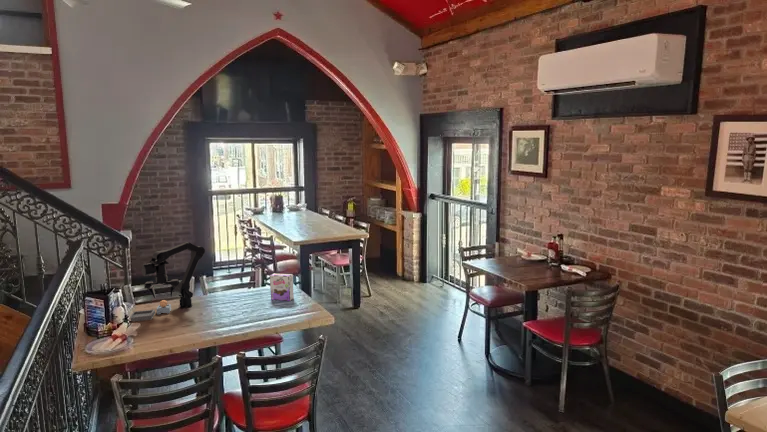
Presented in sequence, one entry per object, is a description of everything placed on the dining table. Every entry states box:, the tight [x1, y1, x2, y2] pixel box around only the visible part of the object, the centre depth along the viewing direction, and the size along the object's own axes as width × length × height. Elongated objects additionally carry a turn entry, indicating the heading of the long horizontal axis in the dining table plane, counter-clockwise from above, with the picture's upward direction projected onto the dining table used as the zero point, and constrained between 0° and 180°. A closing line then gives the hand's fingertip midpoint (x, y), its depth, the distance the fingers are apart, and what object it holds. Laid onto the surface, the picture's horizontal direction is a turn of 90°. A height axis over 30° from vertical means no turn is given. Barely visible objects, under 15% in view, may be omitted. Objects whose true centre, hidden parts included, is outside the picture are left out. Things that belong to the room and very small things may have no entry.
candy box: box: [269, 272, 295, 302], centre depth 339 cm, size 14×6×16 cm, turn 73°
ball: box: [159, 299, 168, 307], centre depth 320 cm, size 4×4×4 cm
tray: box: [129, 309, 156, 322], centre depth 311 cm, size 12×12×2 cm
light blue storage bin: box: [156, 303, 172, 315], centre depth 320 cm, size 7×7×4 cm
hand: (163, 297), depth 320 cm, fingers open, 9 cm apart
